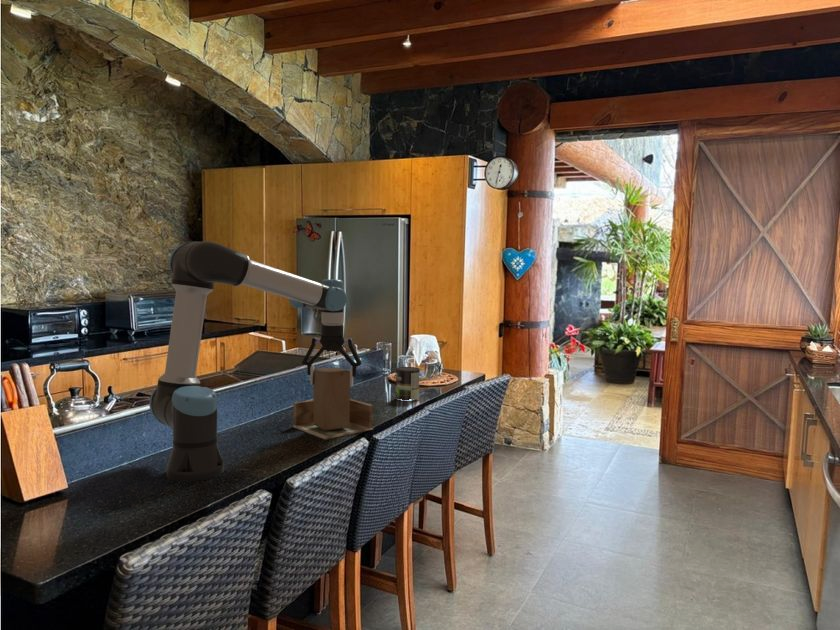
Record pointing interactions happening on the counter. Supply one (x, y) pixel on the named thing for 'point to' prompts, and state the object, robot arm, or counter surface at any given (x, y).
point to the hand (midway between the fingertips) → (331, 385)
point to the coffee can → (407, 383)
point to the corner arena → (357, 423)
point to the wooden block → (331, 398)
